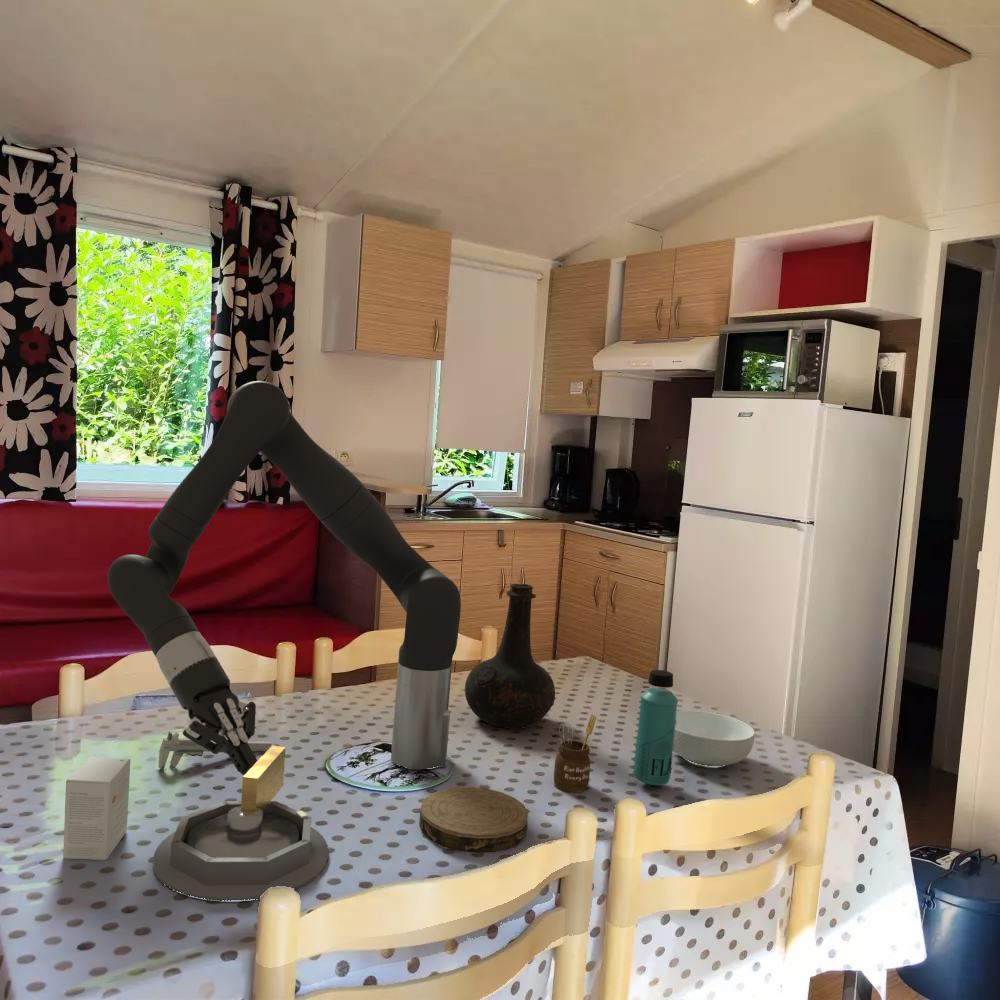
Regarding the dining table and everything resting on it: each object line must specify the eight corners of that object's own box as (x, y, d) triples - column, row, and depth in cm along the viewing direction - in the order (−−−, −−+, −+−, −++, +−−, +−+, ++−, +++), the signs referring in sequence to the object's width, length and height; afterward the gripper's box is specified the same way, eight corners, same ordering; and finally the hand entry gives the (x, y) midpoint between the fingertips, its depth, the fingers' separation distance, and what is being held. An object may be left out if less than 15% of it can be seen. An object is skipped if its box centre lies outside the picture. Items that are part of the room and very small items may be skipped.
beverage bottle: (646, 796, 148) (658, 678, 146) (623, 780, 154) (634, 667, 152) (677, 791, 151) (690, 676, 149) (653, 776, 157) (665, 665, 155)
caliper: (160, 773, 141) (162, 735, 141) (158, 770, 142) (160, 732, 142) (277, 749, 155) (280, 714, 155) (274, 747, 156) (277, 712, 155)
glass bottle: (445, 714, 180) (456, 578, 178) (511, 702, 192) (523, 573, 189) (502, 743, 167) (515, 596, 164) (570, 728, 178) (583, 590, 176)
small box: (85, 830, 121) (88, 755, 120) (127, 832, 121) (131, 757, 120) (61, 859, 113) (64, 779, 112) (106, 861, 113) (110, 781, 112)
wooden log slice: (440, 861, 121) (442, 840, 121) (405, 811, 136) (406, 792, 135) (545, 848, 127) (546, 828, 127) (500, 801, 142) (502, 783, 142)
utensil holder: (546, 780, 151) (553, 711, 150) (579, 777, 154) (585, 709, 153) (562, 794, 146) (569, 723, 145) (596, 791, 148) (603, 721, 147)
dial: (277, 882, 110) (282, 809, 109) (167, 868, 111) (171, 796, 110) (321, 814, 129) (326, 751, 128) (227, 803, 130) (231, 741, 129)
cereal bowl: (767, 764, 167) (771, 728, 167) (722, 786, 155) (727, 747, 154) (688, 737, 179) (692, 703, 178) (641, 755, 166) (645, 718, 166)
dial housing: (328, 819, 130) (330, 792, 130) (326, 900, 108) (329, 869, 108) (170, 819, 126) (171, 791, 125) (135, 904, 104) (137, 871, 104)
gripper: (171, 665, 124) (232, 772, 120) (239, 647, 136) (297, 744, 132) (142, 694, 127) (201, 799, 123) (211, 674, 139) (267, 769, 135)
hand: (250, 770), depth 127 cm, fingers closed
